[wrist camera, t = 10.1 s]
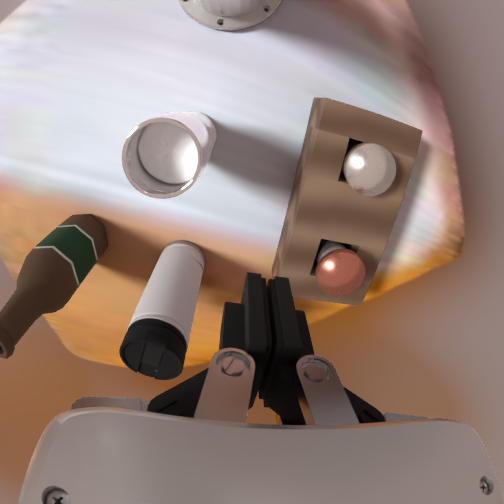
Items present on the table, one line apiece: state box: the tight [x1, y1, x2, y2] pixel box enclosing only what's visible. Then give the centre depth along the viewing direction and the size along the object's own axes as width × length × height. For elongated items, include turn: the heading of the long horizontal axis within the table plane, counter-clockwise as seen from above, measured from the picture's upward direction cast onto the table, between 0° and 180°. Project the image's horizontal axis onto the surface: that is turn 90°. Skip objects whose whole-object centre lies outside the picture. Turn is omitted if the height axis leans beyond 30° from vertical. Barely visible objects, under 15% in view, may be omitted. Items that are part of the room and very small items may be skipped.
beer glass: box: [122, 111, 216, 199], centre depth 30 cm, size 7×7×15 cm
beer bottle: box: [0, 214, 108, 358], centre depth 32 cm, size 8×8×24 cm
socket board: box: [272, 98, 422, 306], centre depth 38 cm, size 24×12×6 cm, turn 169°
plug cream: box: [341, 140, 396, 196], centre depth 34 cm, size 6×6×8 cm
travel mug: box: [119, 241, 205, 380], centre depth 35 cm, size 6×7×20 cm
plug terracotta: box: [316, 239, 365, 296], centre depth 38 cm, size 6×6×8 cm
